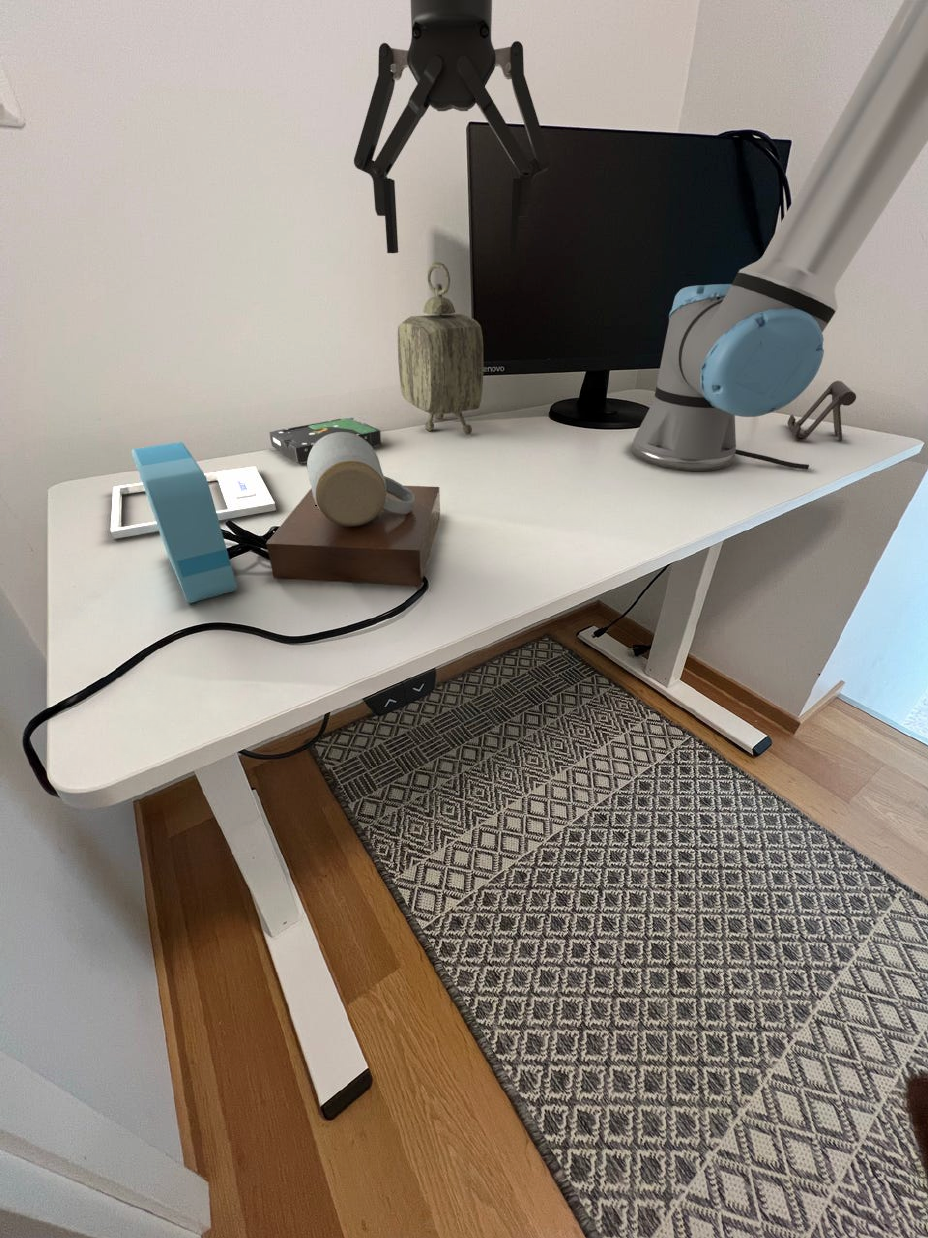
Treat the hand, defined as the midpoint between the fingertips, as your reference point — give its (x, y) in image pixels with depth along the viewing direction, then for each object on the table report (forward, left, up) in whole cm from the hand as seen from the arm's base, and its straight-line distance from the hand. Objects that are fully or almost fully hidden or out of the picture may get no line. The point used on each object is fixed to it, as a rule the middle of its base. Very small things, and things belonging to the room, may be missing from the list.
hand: (452, 253), depth 61 cm
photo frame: (+33, +10, -27) cm, 44 cm away
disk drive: (+22, -13, -27) cm, 37 cm away
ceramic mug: (+8, +20, -23) cm, 31 cm away
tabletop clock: (+5, -25, -27) cm, 37 cm away
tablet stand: (-61, -28, -27) cm, 72 cm away
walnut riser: (+8, +20, -27) cm, 34 cm away
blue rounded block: (+23, +28, -27) cm, 45 cm away
